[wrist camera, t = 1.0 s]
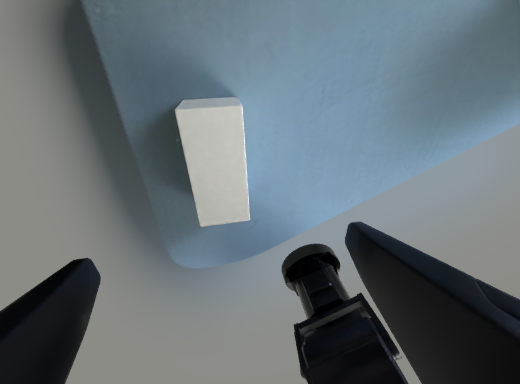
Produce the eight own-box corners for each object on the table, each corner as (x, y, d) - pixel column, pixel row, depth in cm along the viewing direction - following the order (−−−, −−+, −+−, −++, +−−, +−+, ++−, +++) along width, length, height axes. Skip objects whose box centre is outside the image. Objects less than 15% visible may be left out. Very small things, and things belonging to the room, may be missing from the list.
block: (245, 195, 19) (251, 220, 16) (202, 200, 18) (200, 227, 16) (238, 96, 15) (244, 105, 12) (182, 99, 14) (174, 109, 11)
